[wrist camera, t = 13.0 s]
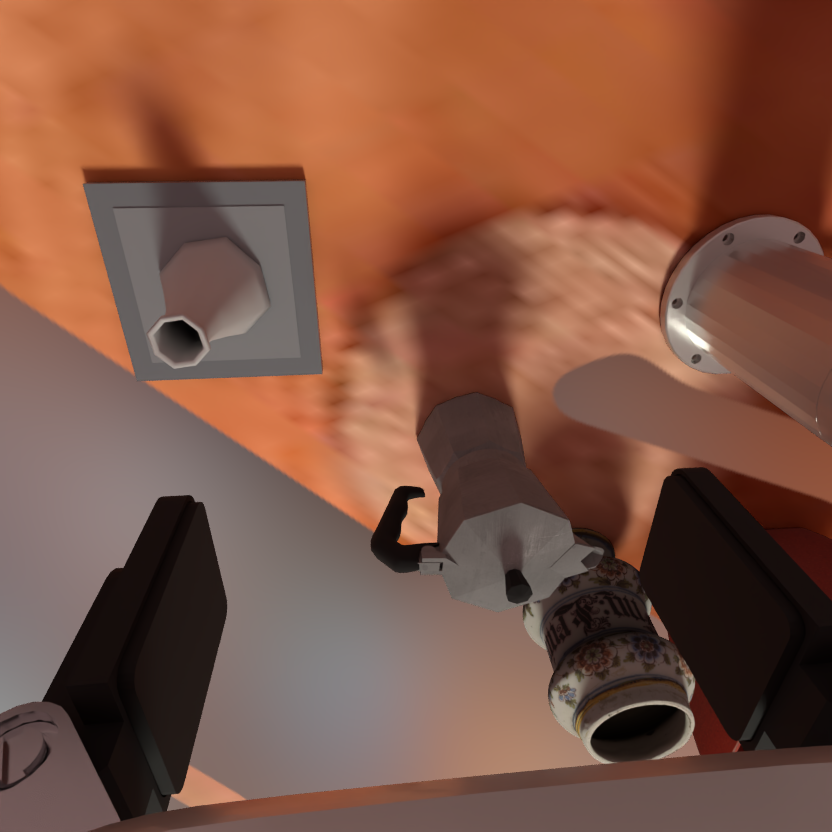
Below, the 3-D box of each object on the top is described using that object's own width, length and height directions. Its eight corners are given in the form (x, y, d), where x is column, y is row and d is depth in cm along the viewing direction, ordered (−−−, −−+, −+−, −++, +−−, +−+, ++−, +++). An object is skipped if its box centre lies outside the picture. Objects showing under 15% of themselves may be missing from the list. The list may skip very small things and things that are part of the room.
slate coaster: (305, 179, 38) (304, 181, 37) (322, 369, 44) (322, 374, 44) (87, 182, 36) (82, 183, 36) (140, 376, 43) (136, 381, 43)
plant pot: (851, 499, 57) (1022, 638, 42) (785, 628, 66) (906, 778, 52) (672, 506, 55) (785, 653, 41) (630, 637, 65) (709, 795, 50)
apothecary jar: (487, 559, 56) (536, 735, 41) (592, 498, 54) (688, 662, 38) (544, 621, 62) (606, 798, 46) (642, 569, 59) (744, 738, 43)
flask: (289, 309, 41) (270, 367, 32) (205, 352, 42) (165, 419, 33) (230, 217, 37) (192, 253, 29) (140, 266, 38) (78, 315, 30)
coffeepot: (552, 392, 47) (647, 536, 32) (532, 482, 52) (606, 647, 36) (370, 386, 46) (375, 536, 30) (366, 480, 50) (369, 653, 35)
